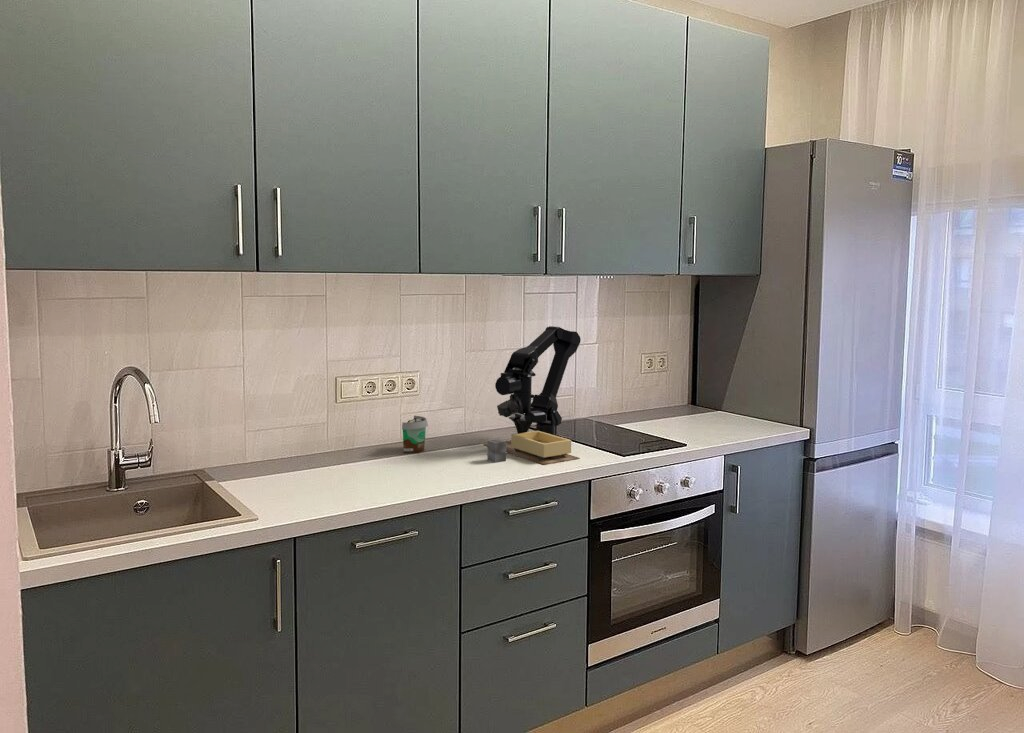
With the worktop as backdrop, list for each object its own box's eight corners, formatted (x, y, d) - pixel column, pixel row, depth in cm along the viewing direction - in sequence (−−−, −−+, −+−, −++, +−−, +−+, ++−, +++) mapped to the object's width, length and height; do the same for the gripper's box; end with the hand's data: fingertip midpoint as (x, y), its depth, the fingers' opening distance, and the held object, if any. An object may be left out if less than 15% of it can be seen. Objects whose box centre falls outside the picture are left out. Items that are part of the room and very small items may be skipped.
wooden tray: (537, 446, 269) (538, 430, 269) (571, 456, 256) (571, 440, 256) (511, 450, 263) (511, 434, 263) (543, 461, 250) (544, 444, 249)
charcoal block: (498, 458, 255) (498, 439, 254) (506, 461, 252) (506, 441, 251) (487, 460, 252) (487, 440, 252) (495, 462, 249) (495, 443, 248)
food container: (421, 455, 257) (421, 423, 255) (401, 454, 258) (401, 422, 257) (432, 447, 269) (432, 416, 267) (414, 445, 270) (414, 415, 269)
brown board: (517, 439, 281) (517, 438, 281) (579, 458, 256) (579, 457, 256) (482, 444, 273) (482, 443, 273) (543, 465, 247) (543, 464, 247)
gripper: (484, 389, 268) (484, 437, 270) (519, 397, 253) (518, 448, 255) (513, 386, 275) (512, 433, 277) (548, 394, 260) (547, 444, 262)
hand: (521, 439), depth 267 cm, fingers closed
